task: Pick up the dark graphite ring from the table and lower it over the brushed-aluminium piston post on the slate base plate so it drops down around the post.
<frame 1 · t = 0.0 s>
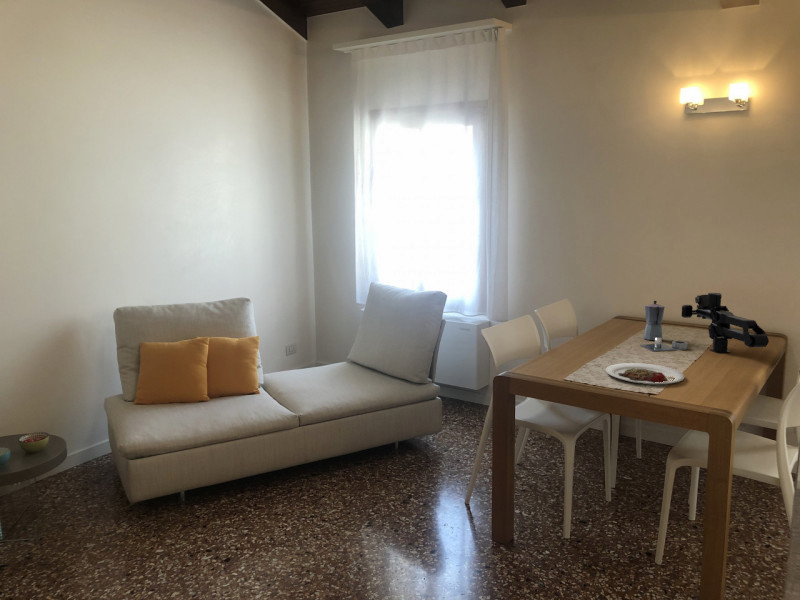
hand: (690, 308, 324), 17 cm above the table, tool horizontal, fingers open, 9 cm apart
ring: (679, 348, 308), on the table
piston: (657, 348, 309), on the table
plated food: (644, 377, 261), on the table
moka pot: (653, 339, 328), on the table
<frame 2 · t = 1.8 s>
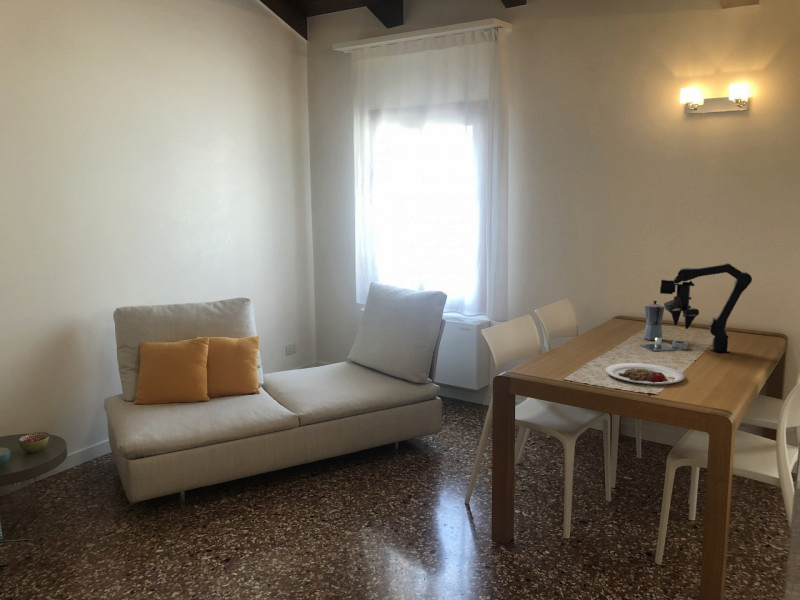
hand: (681, 326, 307), 11 cm above the table, tool pointing down, fingers open, 9 cm apart
nothing on the table moved.
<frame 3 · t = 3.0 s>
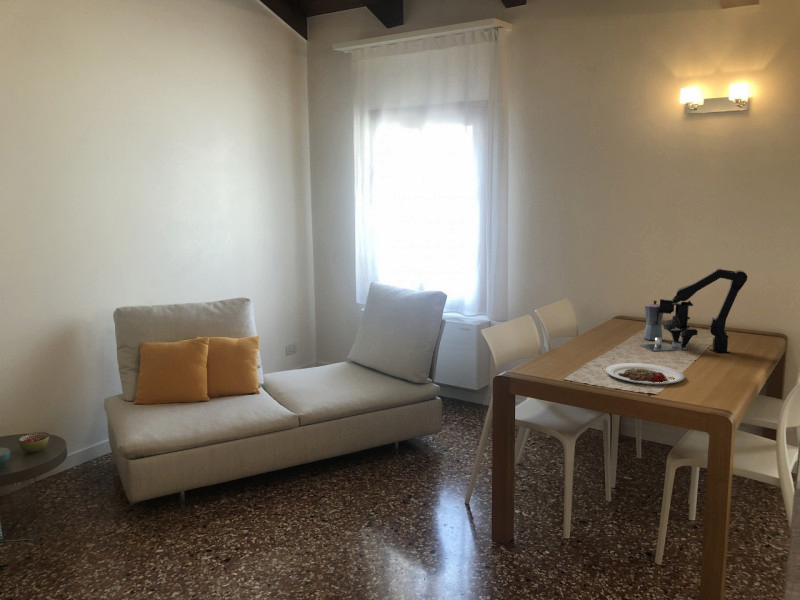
hand: (679, 346, 308), 1 cm above the table, tool pointing down, fingers closed on ring, 6 cm apart
ring: (679, 348, 308), on the table, touching gripper
everything else where it was.
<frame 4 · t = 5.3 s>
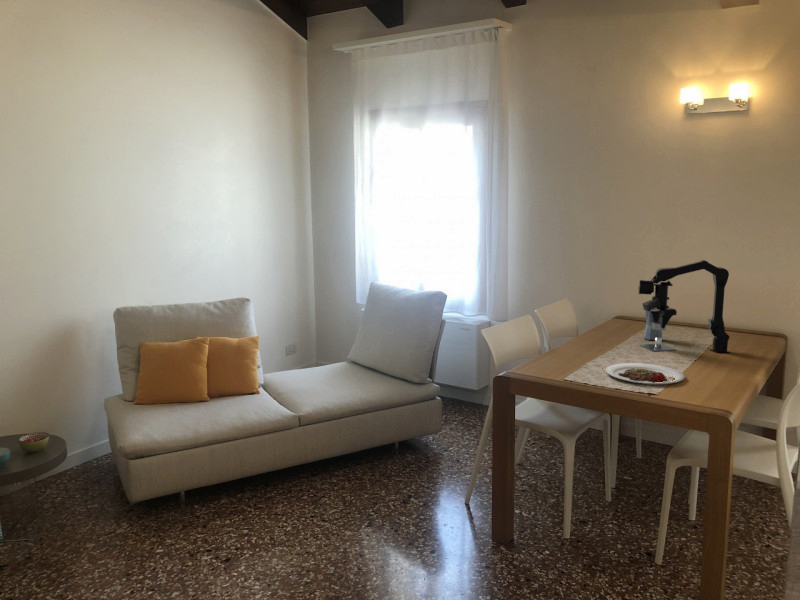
hand: (659, 326, 307), 10 cm above the table, tool pointing down, fingers closed on ring, 6 cm apart
ring: (659, 328, 307), point 9 cm above the table, touching gripper
everything else where it was.
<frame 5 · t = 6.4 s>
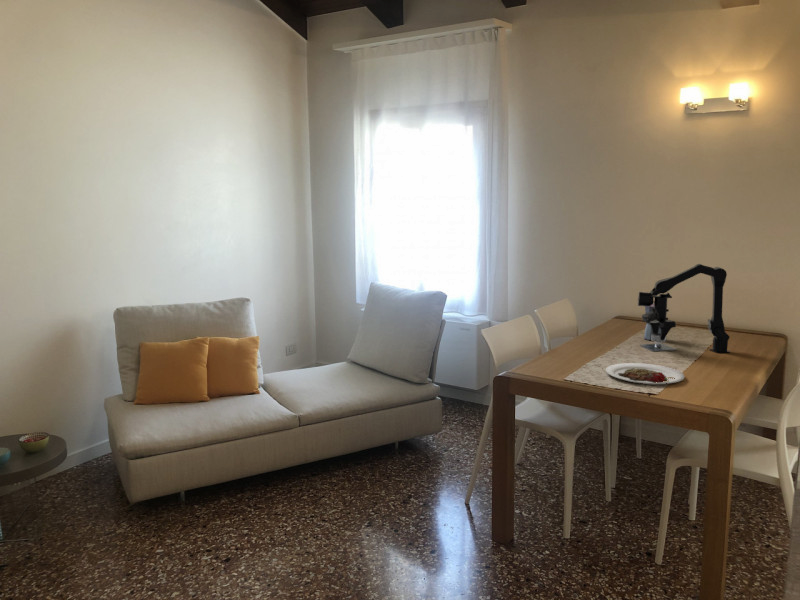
hand: (658, 338, 308), 5 cm above the table, tool pointing down, fingers closed on ring, 6 cm apart
ring: (658, 340, 308), point 4 cm above the table, touching gripper
everything else where it was.
when the fingers open (3 cm above the table, at t = 7.4 s): ring drops 1 cm, resting on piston.
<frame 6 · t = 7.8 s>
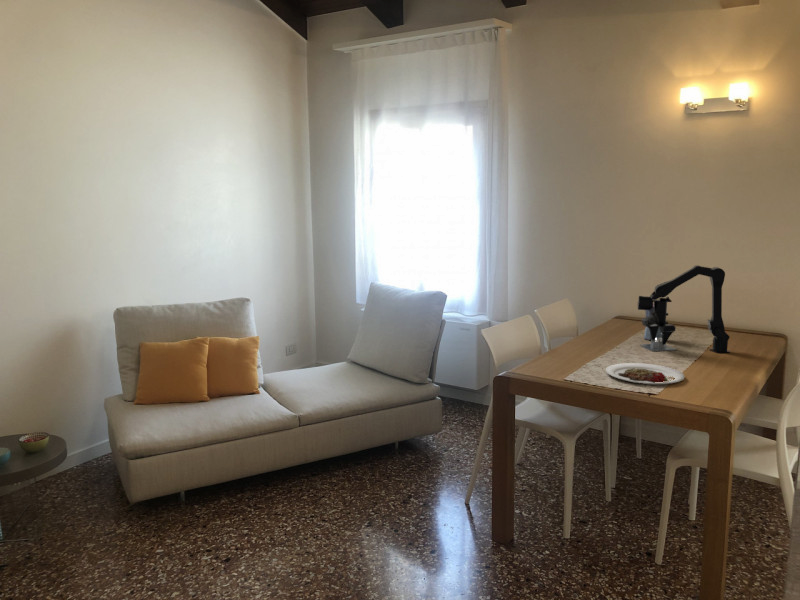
hand: (658, 342, 308), 3 cm above the table, tool pointing down, fingers open, 9 cm apart
ring: (657, 346, 309), point 1 cm above the table, touching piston
everything else where it was.
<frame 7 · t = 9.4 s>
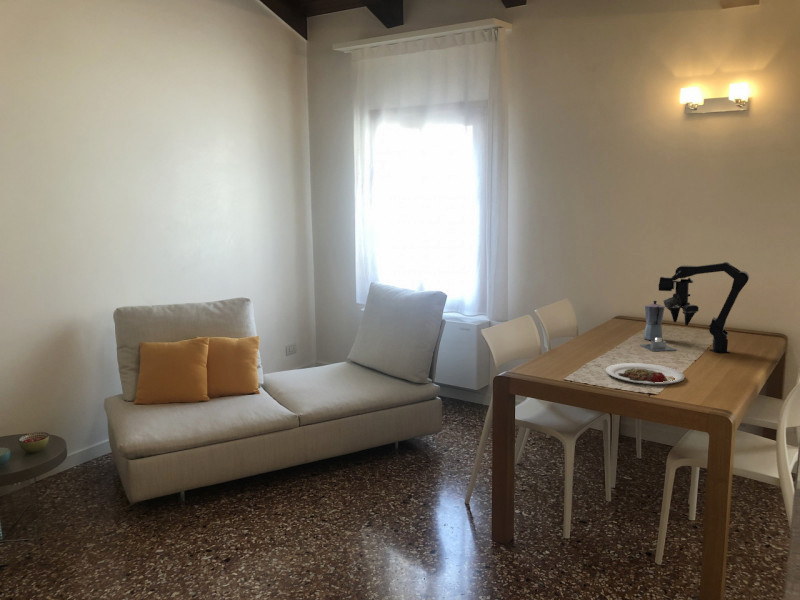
hand: (680, 323, 309), 12 cm above the table, tool pointing down, fingers open, 9 cm apart
nothing on the table moved.
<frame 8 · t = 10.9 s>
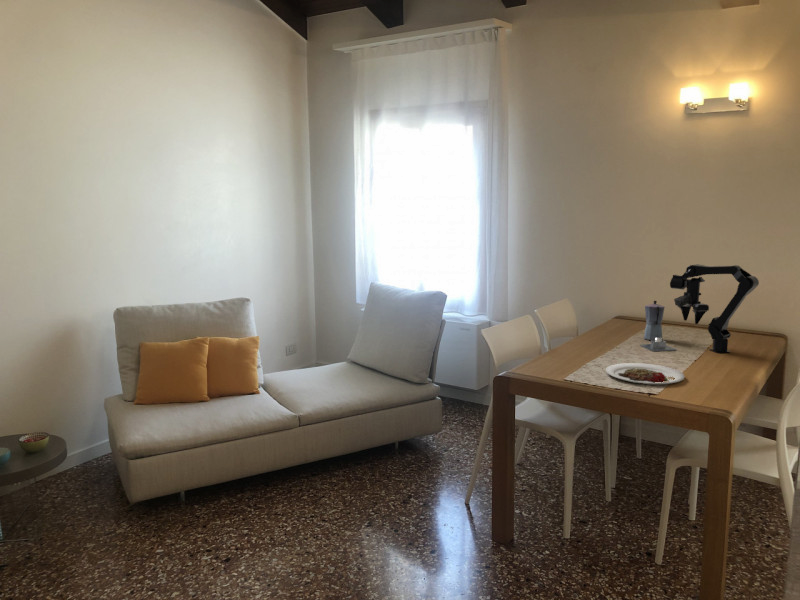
hand: (690, 322, 310), 12 cm above the table, tool pointing down, fingers open, 9 cm apart
nothing on the table moved.
at the end: ring 0.0 cm from the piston (horizontally); ring point 0.6 cm above the table; the gripper is holding nothing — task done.
